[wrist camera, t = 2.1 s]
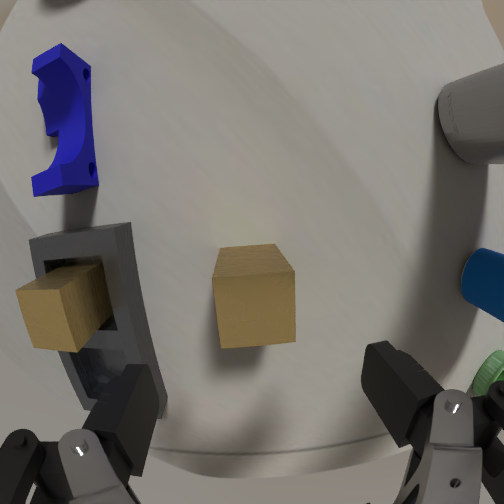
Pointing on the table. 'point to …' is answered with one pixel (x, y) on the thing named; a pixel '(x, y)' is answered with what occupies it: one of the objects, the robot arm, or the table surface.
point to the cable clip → (66, 122)
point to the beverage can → (485, 281)
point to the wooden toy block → (254, 296)
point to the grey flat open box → (123, 304)
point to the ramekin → (489, 373)
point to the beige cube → (66, 305)
